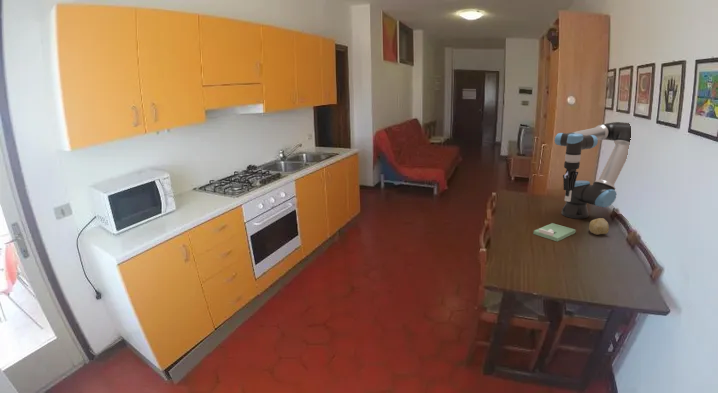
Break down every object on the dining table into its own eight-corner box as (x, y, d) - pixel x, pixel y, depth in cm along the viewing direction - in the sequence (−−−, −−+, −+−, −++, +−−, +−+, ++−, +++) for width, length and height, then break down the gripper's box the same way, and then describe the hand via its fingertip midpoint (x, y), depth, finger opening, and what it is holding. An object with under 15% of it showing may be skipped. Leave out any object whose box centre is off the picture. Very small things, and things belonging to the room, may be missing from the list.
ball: (548, 233, 212) (549, 227, 211) (554, 235, 209) (555, 229, 208) (545, 235, 210) (546, 229, 209) (551, 237, 207) (552, 231, 206)
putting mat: (551, 226, 223) (552, 219, 222) (575, 232, 212) (576, 226, 210) (533, 234, 212) (534, 227, 211) (557, 241, 201) (558, 234, 200)
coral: (617, 225, 203) (602, 219, 201) (606, 240, 206) (591, 234, 205) (606, 218, 211) (592, 212, 210) (596, 232, 215) (581, 226, 214)
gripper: (571, 158, 211) (566, 197, 218) (559, 162, 205) (555, 201, 212) (584, 160, 206) (579, 200, 212) (573, 164, 199) (568, 204, 206)
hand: (567, 200), depth 212 cm, fingers closed
